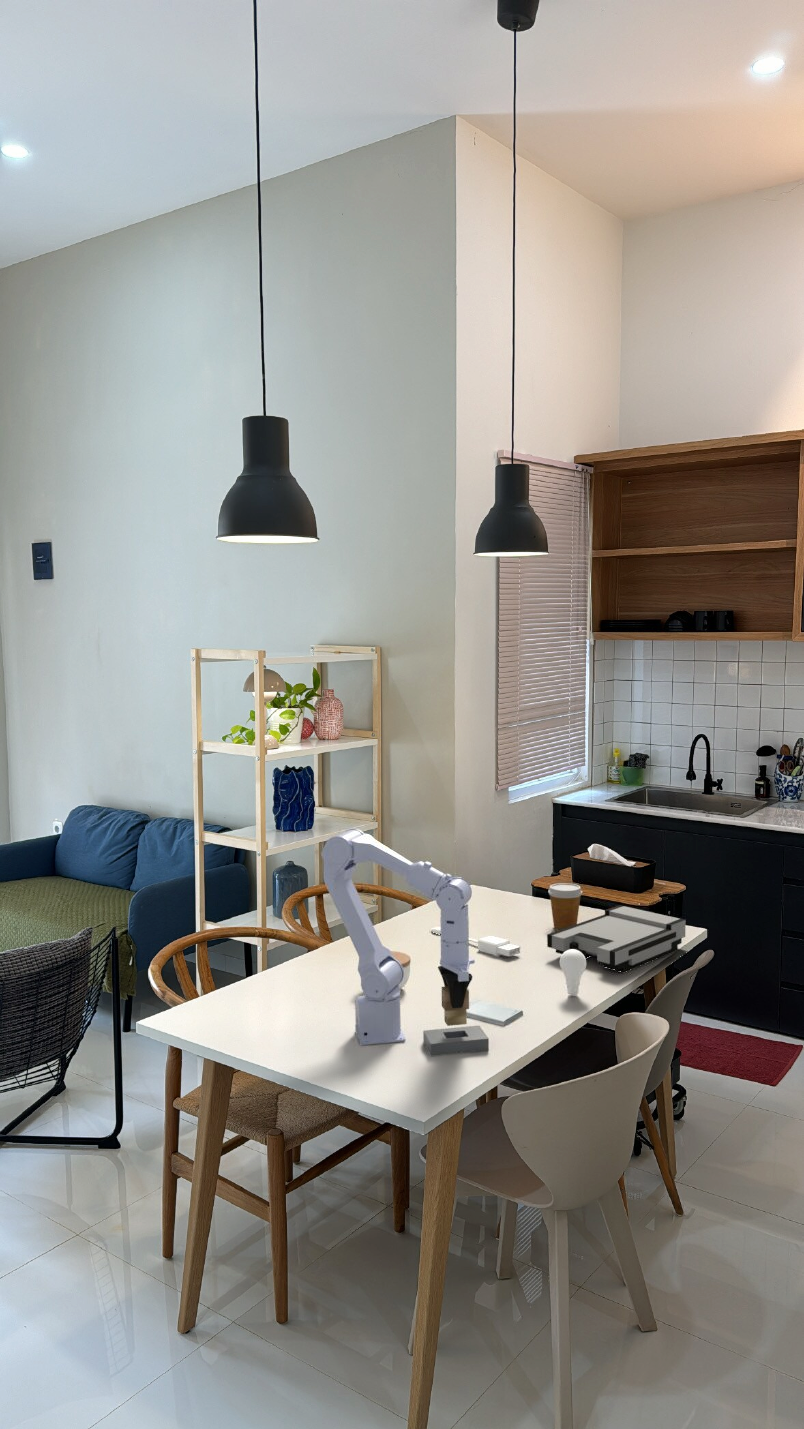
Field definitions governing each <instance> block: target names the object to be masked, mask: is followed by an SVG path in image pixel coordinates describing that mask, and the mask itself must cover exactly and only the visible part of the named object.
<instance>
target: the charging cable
mask: <svg viewBox="0 0 804 1429" xmlns="http://www.w3.org/2000/svg"><path fill="white" fill-rule="evenodd" d="M429 930H431V933H432V932H434V933H437V934H438V935H437V936H440V935H439V934H441V926H436V927H433V928H431V929H429ZM469 942H473V943H476V944H477V945H478V947H477V948H478V950H480V951H479V952H481V951H482V953H484V952H485V954H487V955H491V954H492V956H494V955H495V956H494V957H500V955H501V956H505V957H511V956H514V955H515V956H516V955H518V954H520V953H521V946H518V945H516V944H515V945H514V944H511V942H510V940H508V939H504V938H502V937H501V938H500V937H497V936H493V935H489V936H485V937H482V938H478V940H477V939H475V938H470V937H469Z"/></svg>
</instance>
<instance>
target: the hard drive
mask: <svg viewBox="0 0 804 1429" xmlns="http://www.w3.org/2000/svg"><path fill="white" fill-rule="evenodd" d="M466 1012H467V1018H471V1019H475V1020H479V1021H483V1022H487V1023H490V1024H494V1025H497V1026H502V1027H505V1026H507V1025H509V1024H510V1023H511V1022H514V1021H515V1020H516V1019H518V1018H520V1017H521V1016H523V1015H524V1011H523V1010H521V1009H517V1008H513V1007H509V1006H505V1005H500V1004H497V1003H494V1002H489V1001H485V1000H481V999H476V998H475V999H473V1000H471V1001H469V1009H466Z"/></svg>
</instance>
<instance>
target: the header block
mask: <svg viewBox="0 0 804 1429" xmlns="http://www.w3.org/2000/svg"><path fill="white" fill-rule="evenodd" d="M422 1034H423V1037H422V1039H423V1045H424V1046H425V1047H426V1049H427V1051H428V1053H429V1055H430V1057H434V1056H435V1057H436V1056H446V1055H455V1054H456V1055H457V1054H466V1053H475V1052H476V1053H477V1052H485V1051H487V1052H488V1051H489V1050H490V1046H489V1044H490V1043H489V1037H488V1036H487V1034H486V1033H485V1032H484V1029H483V1028H482V1027H481V1026H480V1025H469V1026H460V1027H448V1028H437V1029H426V1030H425V1029H424V1030H423V1032H422Z"/></svg>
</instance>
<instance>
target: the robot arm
mask: <svg viewBox="0 0 804 1429" xmlns="http://www.w3.org/2000/svg"><path fill="white" fill-rule="evenodd" d="M320 855H321V858H322V860H323V882H324V884H325V886H326V888H327V891H328V893H329V895H330V898H331V899H332V901H333V904H334V906H335V908H336V910H337V912H338V914H339V917H340V919H341V921H342V923H343V925H344V928H345V930H346V932H347V934H348V936H349V939H350V941H351V942H352V945H353V947H354V948H355V951H356V953H357V955H358V965H357V971H358V974H359V977H360V987H361V991H362V992H363V995H359V996H356V997H355V1001H354V1002H355V1004H354V1006H355V1007H354V1009H355V1012H354V1013H355V1025H354V1026H355V1029H354V1031H355V1034H356V1037H357V1039H358V1041H359V1044H360V1045H361V1046H363V1045H364V1046H365V1045H366V1046H367V1045H377V1044H387V1043H397V1042H398V1043H399V1042H405V1041H406V1037H405V1034H404V1032H403V1031H402V1028H401V991H400V990H399V984H400V983H401V982H402V980H403V978H404V969H403V967H402V965H401V963H400V962H399V961H398V960H396V959H395V958H394V956H393V955H392V953H391V951H392V950H390V949H389V948H387V947H386V946H384V945H383V944H382V942H381V940H380V938H379V936H378V933H377V931H376V929H375V927H374V925H373V922H372V920H371V918H370V917H369V914H368V913H367V910H366V908H365V906H364V903H363V902H362V901H363V900H362V899H361V897H360V895H359V892H358V890H357V888H356V886H355V884H354V882H353V880H352V875H353V873H354V871H355V868H356V865H357V864H360V863H367V862H372V863H375V864H376V865H379V866H381V867H382V868H385V870H386V869H387V870H388V871H390V872H393V873H395V874H397V875H399V876H401V877H403V878H404V879H405V882H406V884H407V886H408V887H409V888H411V889H413V890H414V891H417V892H419V893H420V894H423V895H424V896H426V897H427V898H430V899H431V900H432V901H434V902H436V905H437V906H438V908H439V910H440V918H439V919H440V920H439V921H440V927H441V935H440V959H439V966H437V969H438V971H439V973H440V975H441V978H442V982H443V985H444V986H443V987H445V986H448V988H449V993H450V1000H451V1005H452V1008H462V1007H463V1004H464V1000H465V995H466V991H467V988H468V987H469V986H470V984H471V982H472V981H473V975H472V973H470V972H469V968H470V965H471V964H473V965H474V964H475V963H476V962H475V959H474V958H473V957H470V952H469V951H470V950H469V949H470V948H469V947H470V946H469V945H470V944H469V943H470V941H469V938H470V937H469V936H470V931H469V928H470V927H469V925H470V924H469V923H470V922H469V904H468V903H469V901H470V900H471V898H472V893H473V891H472V887H471V885H470V884H469V882H467V880H465V879H464V878H463V877H460V876H454V877H453V875H452V874H451V873H444V872H443V871H440V870H438V869H437V868H435V867H433V866H432V865H433V863H432V862H430V861H425V862H424V861H423V860H422V861H416V862H412V861H410V860H409V859H407V858H405V857H404V856H403V855H400V854H399V853H397V852H396V851H395V850H393V849H390V848H389V847H388V846H386V845H384V844H383V843H381V842H380V841H378V840H377V839H375V838H374V837H373V835H371V834H368V833H365V832H363V831H362V830H360V829H358V828H349V829H347V830H345V831H344V832H342V833H340V834H337V835H334V836H332V837H330V838H328V839H327V840H326V842H325V843H324V846H323V848H322V850H321V853H320ZM468 989H469V988H468Z"/></svg>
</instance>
